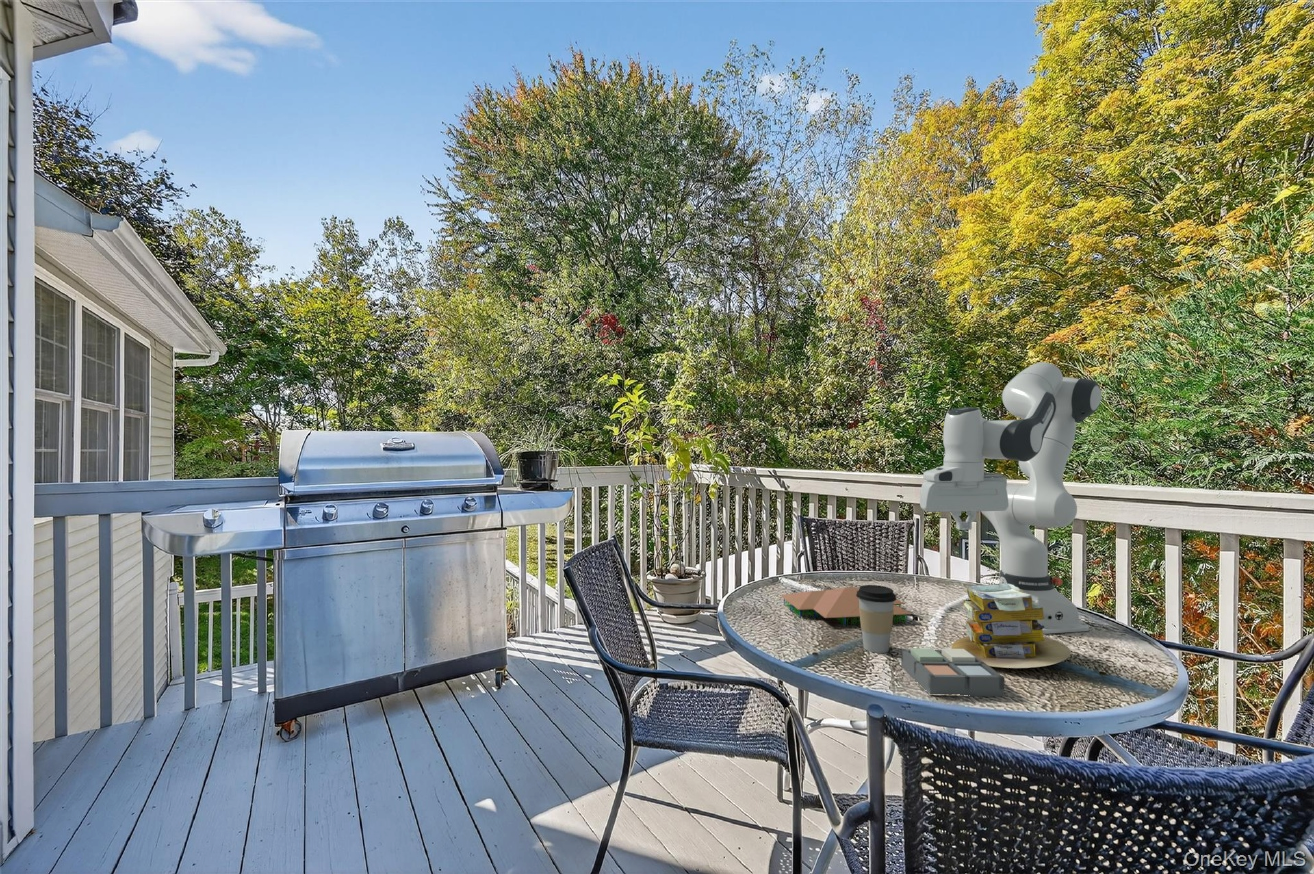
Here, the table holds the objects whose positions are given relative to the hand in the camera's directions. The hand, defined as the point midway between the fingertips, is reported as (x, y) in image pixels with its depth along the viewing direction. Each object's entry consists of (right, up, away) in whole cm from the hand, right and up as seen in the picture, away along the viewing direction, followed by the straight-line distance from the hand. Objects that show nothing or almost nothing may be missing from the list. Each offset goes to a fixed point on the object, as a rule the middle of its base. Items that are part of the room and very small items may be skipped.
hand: (964, 529), depth 144 cm
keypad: (-12, -30, -17) cm, 37 cm away
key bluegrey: (-8, -29, -20) cm, 36 cm away
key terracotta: (-15, -29, -20) cm, 38 cm away
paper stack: (+9, -31, -3) cm, 32 cm away
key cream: (-8, -27, -13) cm, 32 cm away
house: (-19, -31, +31) cm, 47 cm away
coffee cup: (-21, -30, +2) cm, 37 cm away
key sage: (-15, -28, -13) cm, 34 cm away
